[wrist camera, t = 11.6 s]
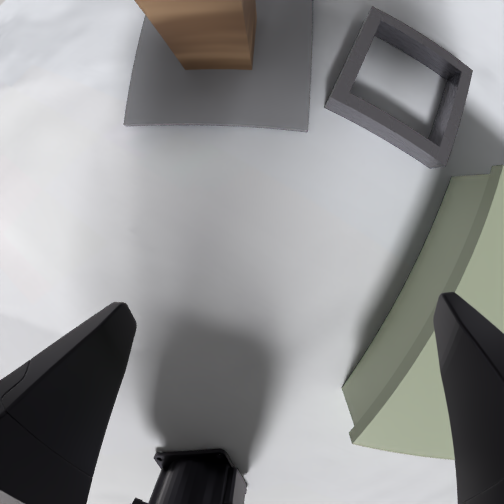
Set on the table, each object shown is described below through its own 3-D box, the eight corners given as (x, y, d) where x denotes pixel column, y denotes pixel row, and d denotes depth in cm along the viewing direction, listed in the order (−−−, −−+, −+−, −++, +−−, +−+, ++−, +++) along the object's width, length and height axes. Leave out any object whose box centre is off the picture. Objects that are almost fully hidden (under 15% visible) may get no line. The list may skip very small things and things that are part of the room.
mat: (306, 132, 17) (307, 130, 16) (126, 126, 17) (123, 124, 17) (312, -11, 15) (312, -14, 14) (155, -9, 15) (153, -12, 15)
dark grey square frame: (429, 168, 17) (445, 166, 15) (324, 107, 16) (330, 97, 14) (458, 78, 15) (472, 70, 13) (364, 21, 15) (372, 6, 13)
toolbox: (435, 418, 20) (462, 460, 14) (335, 390, 19) (352, 444, 14) (533, 240, 17) (580, 253, 11) (450, 168, 16) (503, 163, 11)
